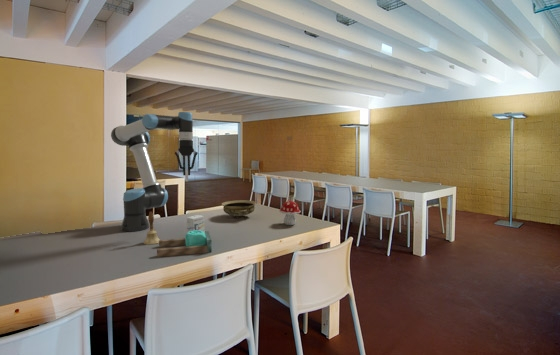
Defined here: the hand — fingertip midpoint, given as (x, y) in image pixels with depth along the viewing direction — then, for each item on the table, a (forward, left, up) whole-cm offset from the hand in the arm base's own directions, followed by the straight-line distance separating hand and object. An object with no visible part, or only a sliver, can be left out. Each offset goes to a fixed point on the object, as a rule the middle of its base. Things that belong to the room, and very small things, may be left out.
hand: (186, 181), depth 183 cm
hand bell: (-18, -17, -30) cm, 39 cm away
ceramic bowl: (+35, +29, -30) cm, 54 cm away
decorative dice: (+3, -33, -30) cm, 45 cm away
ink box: (+4, -15, -30) cm, 34 cm away
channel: (-2, -33, -29) cm, 44 cm away
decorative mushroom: (+63, +1, -30) cm, 70 cm away
